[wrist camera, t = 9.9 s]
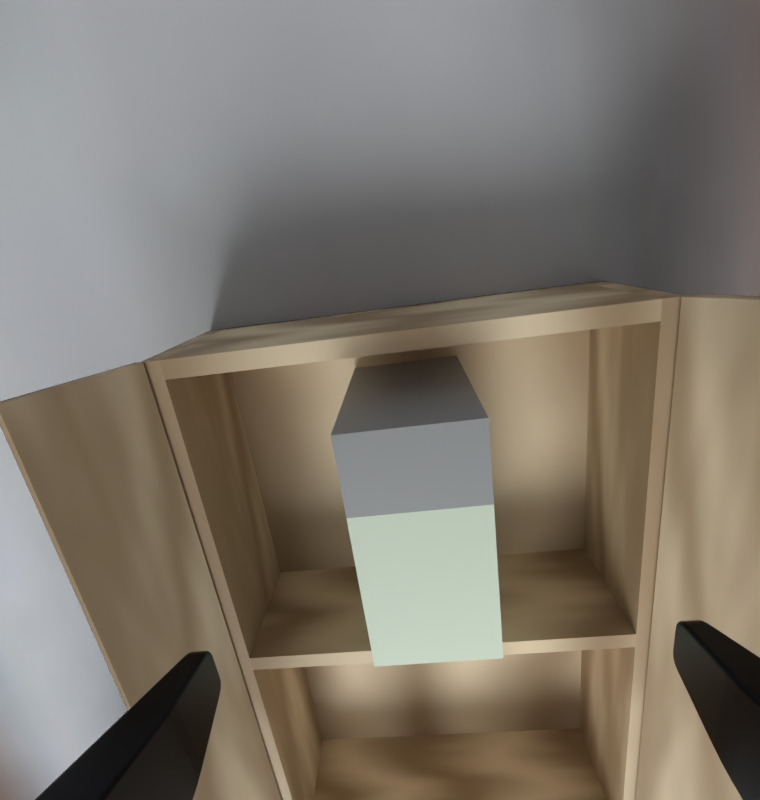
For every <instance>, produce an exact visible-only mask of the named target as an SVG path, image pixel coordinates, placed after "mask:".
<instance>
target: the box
mask: <svg viewBox="0 0 760 800" xmlns="http://www.w3.org/2000/svg"><path fill="white" fill-rule="evenodd" d="M331 440H332V446H333V451H334V456H335V461H336V467H337V472H338V477H339V482H340V488H341V493H342V498H343V503H344V509H345V514H346V519H347V524H348V530H349V535H350V540H351V545H352V551H353V556H354V561H355V566H356V572H357V577H358V582H359V587H360V593H361V598H362V603H363V608H364V614H365V619H366V624H367V629H368V635H369V640H370V645H371V650H372V656H373V661H374V666H375V667H376V666H392V665H408V664H423V663H439V662H454V661H470V660H485V659H501V658H503V644H502V628H501V611H500V595H499V579H498V562H497V546H496V530H495V513H494V497H493V481H492V465H491V448H490V432H489V418H488V416H487V414H486V412H485V410H484V408H483V406H482V404H481V402H480V400H479V398H478V396H477V394H476V392H475V390H474V388H473V387H472V385H471V383H470V381H469V379H468V377H467V375H466V373H465V371H464V369H463V367H462V365H461V363H460V361H459V359H458V357H457V356H450V357H442V358H433V359H425V360H417V361H409V362H401V363H393V364H385V365H377V366H368V367H360V368H355V369H354V372H353V375H352V378H351V380H350V383H349V386H348V389H347V391H346V394H345V397H344V400H343V402H342V405H341V408H340V411H339V413H338V416H337V419H336V422H335V425H334V427H333V430H332V433H331Z"/></svg>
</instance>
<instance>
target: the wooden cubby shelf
mask: <svg viewBox="0 0 760 800" xmlns="http://www.w3.org/2000/svg"><path fill="white" fill-rule="evenodd" d="M450 356H457V357H458V359H459V361H460V363H461V365H462V367H463V369H464V371H465V373H466V375H467V377H468V379H469V381H470V383H471V385H472V387H473V388H474V390H475V392H476V394H477V396H478V398H479V400H480V402H481V404H482V406H483V408H484V410H485V412H486V414H487V416H488V418H489V432H490V448H491V465H492V481H493V497H494V513H495V530H496V546H497V562H498V579H499V595H500V611H501V628H502V644H503V658H501V659H485V660H470V661H454V662H439V663H423V664H408V665H392V666H376V667H375V666H374V661H373V656H372V650H371V645H370V640H369V635H368V629H367V624H366V619H365V614H364V608H363V603H362V598H361V593H360V587H359V582H358V577H357V572H356V566H355V561H354V556H353V551H352V545H351V540H350V535H349V530H348V524H347V519H346V514H345V509H344V503H343V498H342V493H341V488H340V482H339V477H338V472H337V467H336V461H335V456H334V451H333V446H332V440H331V433H332V430H333V427H334V425H335V422H336V419H337V416H338V413H339V411H340V408H341V405H342V402H343V400H344V397H345V394H346V391H347V389H348V386H349V383H350V380H351V378H352V375H353V372H354V369H355V368H360V367H368V366H377V365H385V364H393V363H401V362H409V361H417V360H425V359H433V358H442V357H450ZM0 426H1V428H2V431H3V433H4V435H5V437H6V440H7V442H8V444H9V446H10V448H11V451H12V453H13V455H14V457H15V460H16V462H17V464H18V466H19V469H20V471H21V473H22V475H23V478H24V480H25V482H26V484H27V486H28V489H29V491H30V493H31V495H32V498H33V500H34V502H35V504H36V507H37V509H38V511H39V513H40V516H41V518H42V520H43V522H44V524H45V527H46V529H47V531H48V533H49V536H50V538H51V540H52V542H53V545H54V547H55V549H56V551H57V554H58V556H59V558H60V560H61V562H62V565H63V567H64V569H65V571H66V574H67V576H68V578H69V580H70V583H71V585H72V587H73V589H74V592H75V594H76V596H77V598H78V600H79V603H80V605H81V607H82V609H83V612H84V614H85V616H86V618H87V621H88V623H89V625H90V627H91V630H92V632H93V634H94V636H95V638H96V641H97V643H98V645H99V647H100V650H101V652H102V654H103V656H104V659H105V661H106V663H107V665H108V668H109V670H110V672H111V674H112V676H113V679H114V681H115V683H116V685H117V688H118V690H119V692H120V694H121V697H122V699H123V701H124V703H125V706H126V708H127V710H129V709H130V708H131V707H132V706H133V705H134V704H135V703H136V702H137V701H138V700H139V699H140V698H142V697H143V696H144V695H145V694H146V693H147V692H148V691H149V690H150V689H151V688H152V687H153V686H154V685H155V684H156V683H157V682H158V681H159V680H160V679H161V678H162V677H163V676H164V675H165V674H166V673H168V672H169V671H170V670H171V669H172V668H173V667H174V666H175V665H176V664H177V663H178V662H179V661H180V660H181V659H182V658H183V657H184V656H185V655H187V654H188V653H190V652H194V651H209V652H210V653H211V654H212V656H213V659H214V662H215V665H216V667H217V670H218V673H219V676H220V680H221V691H220V696H219V700H218V704H217V708H216V713H215V717H214V721H213V725H212V729H211V733H210V737H209V742H208V746H207V750H206V754H205V758H204V762H203V766H202V770H201V774H200V778H199V781H198V785H197V788H196V791H195V794H194V798H193V800H742V798H741V796H740V794H739V793H738V791H737V789H736V788H735V786H734V784H733V782H732V781H731V779H730V777H729V775H728V774H727V772H726V770H725V768H724V766H723V765H722V763H721V761H720V759H719V757H718V755H717V753H716V751H715V749H714V747H713V745H712V742H711V740H710V738H709V736H708V734H707V732H706V730H705V728H704V726H703V723H702V721H701V719H700V717H699V715H698V713H697V711H696V709H695V707H694V704H693V702H692V700H691V698H690V696H689V694H688V692H687V690H686V688H685V685H684V683H683V681H682V679H681V677H680V675H679V673H678V671H677V668H676V666H675V663H674V659H673V647H674V639H675V631H676V625H677V623H678V622H680V621H688V620H702V621H704V622H706V623H708V624H710V625H711V626H713V627H714V628H716V629H717V630H719V631H720V632H722V633H723V634H725V635H726V636H728V637H729V638H731V639H733V640H734V641H736V642H737V643H739V644H740V645H742V646H743V647H745V648H746V649H748V650H749V651H751V652H752V653H754V654H755V655H757V656H758V657H760V296H726V295H687V296H684V295H679V294H673V293H668V292H662V291H656V290H651V289H645V288H640V287H634V286H628V285H623V284H617V283H611V282H606V281H599V282H592V283H584V284H576V285H568V286H560V287H552V288H544V289H536V290H529V291H521V292H513V293H505V294H497V295H489V296H481V297H473V298H465V299H458V300H450V301H442V302H434V303H426V304H418V305H410V306H402V307H395V308H387V309H379V310H371V311H363V312H355V313H347V314H339V315H332V316H324V317H316V318H308V319H300V320H292V321H284V322H276V323H269V324H261V325H253V326H245V327H237V328H229V329H221V330H213V331H208V332H206V333H204V334H202V335H200V336H197V337H195V338H193V339H191V340H188V341H186V342H184V343H182V344H180V345H177V346H175V347H173V348H171V349H169V350H166V351H164V352H162V353H160V354H158V355H155V356H153V357H151V358H149V359H147V360H144V361H142V362H140V363H133V364H129V365H126V366H122V367H119V368H115V369H112V370H108V371H105V372H101V373H98V374H94V375H91V376H87V377H84V378H80V379H77V380H73V381H70V382H66V383H63V384H59V385H56V386H52V387H49V388H46V389H42V390H39V391H35V392H32V393H28V394H25V395H21V396H18V397H14V398H11V399H7V400H4V401H0Z"/></svg>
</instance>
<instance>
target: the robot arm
mask: <svg viewBox="0 0 760 800" xmlns="http://www.w3.org/2000/svg"><path fill="white" fill-rule="evenodd" d="M673 659H674V663H675V666H676V668H677V671H678V673H679V675H680V677H681V679H682V681H683V683H684V685H685V688H686V690H687V692H688V694H689V696H690V698H691V700H692V702H693V704H694V707H695V709H696V711H697V713H698V715H699V717H700V719H701V721H702V723H703V726H704V728H705V730H706V732H707V734H708V736H709V738H710V740H711V742H712V745H713V747H714V749H715V751H716V753H717V755H718V757H719V759H720V761H721V763H722V765H723V766H724V768H725V770H726V772H727V774H728V775H729V777H730V779H731V781H732V782H733V784H734V786H735V788H736V789H737V791H738V793H739V794H740V796H741V798H742V800H760V657H758V656H757V655H755V654H754V653H752V652H751V651H749V650H748V649H746V648H745V647H743V646H742V645H740V644H739V643H737V642H736V641H734V640H733V639H731V638H729V637H728V636H726V635H725V634H723V633H722V632H720V631H719V630H717V629H716V628H714V627H713V626H711V625H710V624H708V623H706V622H704V621H702V620H688V621H680V622H678V623H677V625H676V631H675V639H674V647H673ZM220 691H221V680H220V676H219V673H218V670H217V667H216V665H215V662H214V659H213V656H212V654H211V653H210V652H209V651H194V652H190V653H188V654H187V655H185V656H184V657H183V658H182V659H181V660H180V661H179V662H178V663H177V664H176V665H175V666H174V667H173V668H172V669H171V670H170V671H169V672H168V673H166V674H165V675H164V676H163V677H162V678H161V679H160V680H159V681H158V682H157V683H156V684H155V685H154V686H153V687H152V688H151V689H150V690H149V691H148V692H147V693H146V694H145V695H144V696H143V697H142V698H140V699H139V700H138V701H137V702H136V703H135V704H134V705H133V706H132V707H131V708H130V709H129V710H128V711H127V712H126V713H125V714H124V715H123V716H122V717H121V718H120V719H119V720H118V721H117V722H115V723H114V724H113V725H112V726H111V727H110V728H109V729H108V730H107V731H106V732H105V733H104V734H103V735H102V736H101V737H100V738H99V739H98V740H97V741H96V742H95V743H94V744H93V745H92V746H90V747H89V748H88V749H87V750H86V751H85V752H84V753H83V754H82V755H81V756H80V757H79V758H78V759H77V760H76V761H75V762H74V763H73V764H72V765H71V766H70V767H69V768H68V769H67V770H65V771H64V772H63V773H62V774H61V775H60V776H59V777H58V778H57V779H56V780H55V781H54V782H53V783H52V784H51V785H50V786H49V787H48V788H47V789H46V790H45V791H44V792H43V793H42V794H40V795H39V796H38V797H37V798H36V799H35V800H193V798H194V794H195V791H196V788H197V785H198V781H199V778H200V774H201V770H202V766H203V762H204V758H205V754H206V750H207V746H208V742H209V737H210V733H211V729H212V725H213V721H214V717H215V713H216V708H217V704H218V700H219V696H220Z"/></svg>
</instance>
